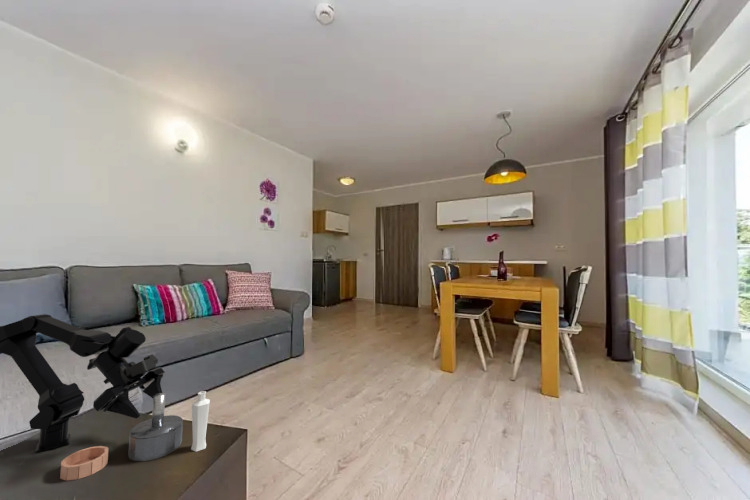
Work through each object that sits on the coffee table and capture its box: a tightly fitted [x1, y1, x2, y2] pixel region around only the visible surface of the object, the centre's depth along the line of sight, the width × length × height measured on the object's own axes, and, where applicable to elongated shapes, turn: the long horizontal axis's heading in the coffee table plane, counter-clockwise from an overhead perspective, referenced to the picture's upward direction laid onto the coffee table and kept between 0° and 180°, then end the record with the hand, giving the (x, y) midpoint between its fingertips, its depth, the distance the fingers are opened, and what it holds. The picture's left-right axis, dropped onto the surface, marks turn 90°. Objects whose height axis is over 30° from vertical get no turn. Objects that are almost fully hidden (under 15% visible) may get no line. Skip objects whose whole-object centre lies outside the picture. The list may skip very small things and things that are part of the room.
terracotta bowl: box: [59, 445, 109, 481], centre depth 76 cm, size 8×8×3 cm
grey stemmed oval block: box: [127, 392, 184, 462], centre depth 85 cm, size 12×12×14 cm
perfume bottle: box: [190, 390, 211, 452], centre depth 86 cm, size 5×4×15 cm
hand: (151, 409), depth 86 cm, fingers open, 9 cm apart
